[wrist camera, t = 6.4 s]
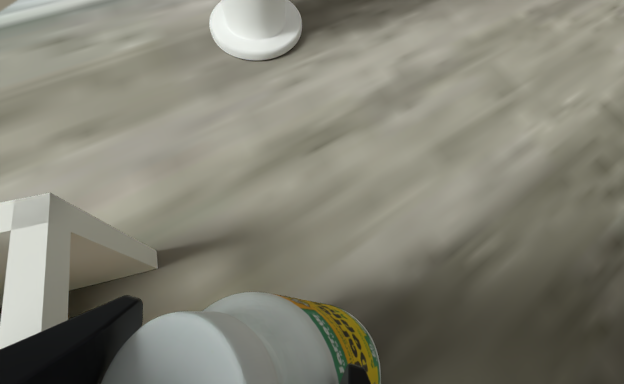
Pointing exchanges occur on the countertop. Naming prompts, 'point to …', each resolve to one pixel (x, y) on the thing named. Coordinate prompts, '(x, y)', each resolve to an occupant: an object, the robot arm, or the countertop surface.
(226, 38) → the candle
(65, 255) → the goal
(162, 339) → the supplement bottle
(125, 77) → the countertop surface
